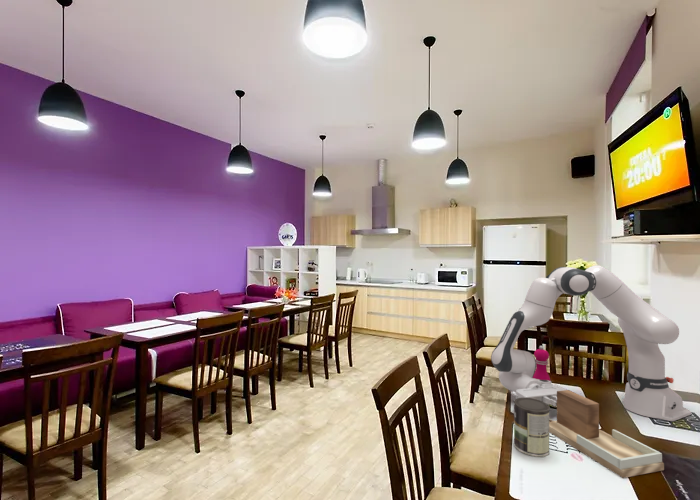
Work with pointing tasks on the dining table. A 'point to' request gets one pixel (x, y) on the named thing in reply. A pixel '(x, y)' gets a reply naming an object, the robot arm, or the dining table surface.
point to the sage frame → (624, 463)
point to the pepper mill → (541, 364)
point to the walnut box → (578, 414)
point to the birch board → (610, 446)
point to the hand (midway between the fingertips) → (558, 404)
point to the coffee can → (531, 426)
